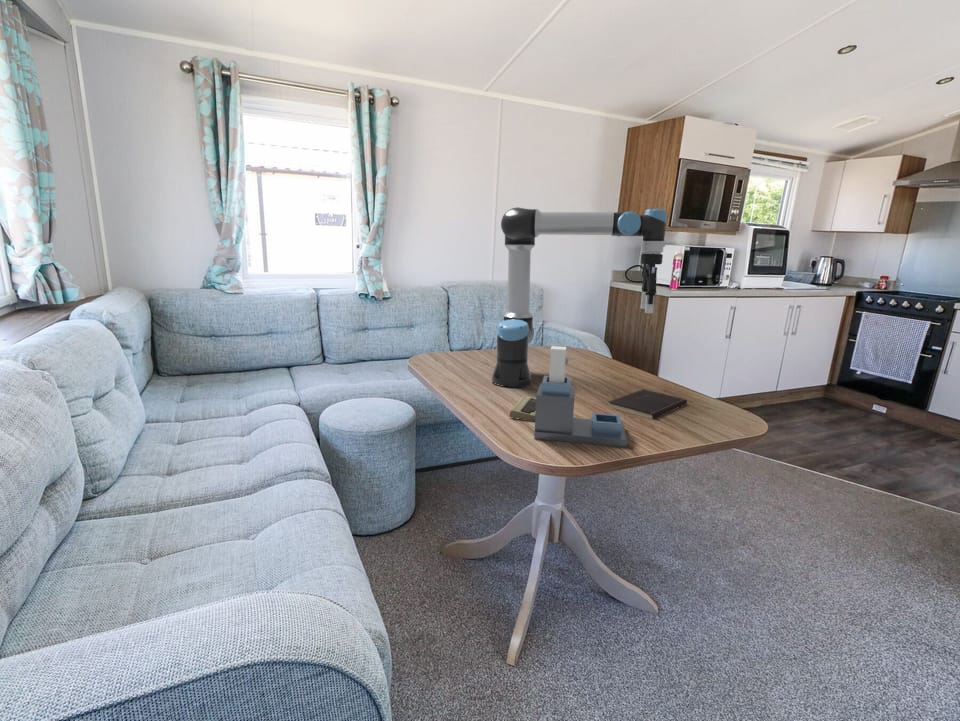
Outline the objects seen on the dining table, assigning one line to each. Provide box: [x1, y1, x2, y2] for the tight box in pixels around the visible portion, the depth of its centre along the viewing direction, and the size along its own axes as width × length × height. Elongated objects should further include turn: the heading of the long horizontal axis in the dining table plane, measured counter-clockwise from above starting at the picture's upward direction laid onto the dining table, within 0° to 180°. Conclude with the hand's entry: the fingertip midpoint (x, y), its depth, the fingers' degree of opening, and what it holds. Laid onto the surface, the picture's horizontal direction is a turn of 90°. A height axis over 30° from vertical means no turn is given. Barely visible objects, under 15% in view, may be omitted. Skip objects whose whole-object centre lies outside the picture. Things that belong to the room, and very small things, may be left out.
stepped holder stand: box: [533, 375, 628, 448], centre depth 134 cm, size 24×14×15 cm, turn 78°
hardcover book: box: [607, 389, 688, 420], centre depth 161 cm, size 16×23×2 cm
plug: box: [548, 345, 570, 383], centre depth 133 cm, size 5×4×12 cm
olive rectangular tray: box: [508, 396, 536, 422], centre depth 153 cm, size 16×8×3 cm, turn 161°
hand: (646, 311), depth 183 cm, fingers open, 13 cm apart
